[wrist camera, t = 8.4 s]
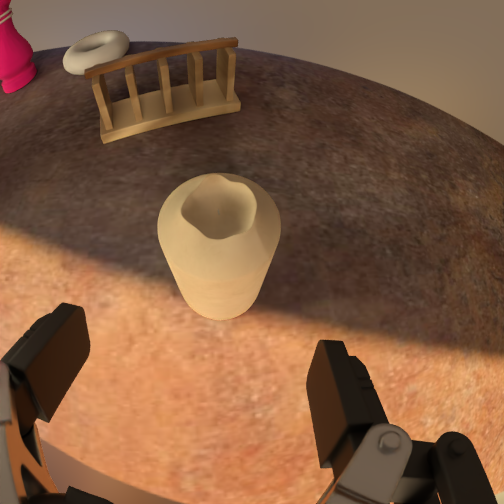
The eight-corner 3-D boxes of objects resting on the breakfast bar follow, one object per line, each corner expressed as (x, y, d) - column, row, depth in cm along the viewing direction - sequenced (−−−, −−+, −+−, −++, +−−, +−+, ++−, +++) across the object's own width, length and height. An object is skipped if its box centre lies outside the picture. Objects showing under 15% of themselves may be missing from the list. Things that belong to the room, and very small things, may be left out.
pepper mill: (47, 64, 32) (20, -35, 14) (24, 91, 29) (-15, -16, 11) (18, 72, 32) (-12, -18, 14) (-5, 99, 29) (-45, 4, 11)
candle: (187, 327, 20) (156, 279, 11) (176, 252, 22) (149, 162, 13) (267, 313, 21) (303, 254, 11) (250, 241, 23) (269, 146, 14)
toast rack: (103, 144, 26) (82, 84, 19) (102, 114, 27) (86, 59, 20) (240, 111, 29) (246, 49, 22) (226, 85, 30) (229, 29, 23)
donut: (142, 44, 34) (90, 45, 34) (140, 25, 31) (86, 28, 31) (108, 79, 30) (53, 81, 30) (103, 58, 27) (46, 62, 27)
